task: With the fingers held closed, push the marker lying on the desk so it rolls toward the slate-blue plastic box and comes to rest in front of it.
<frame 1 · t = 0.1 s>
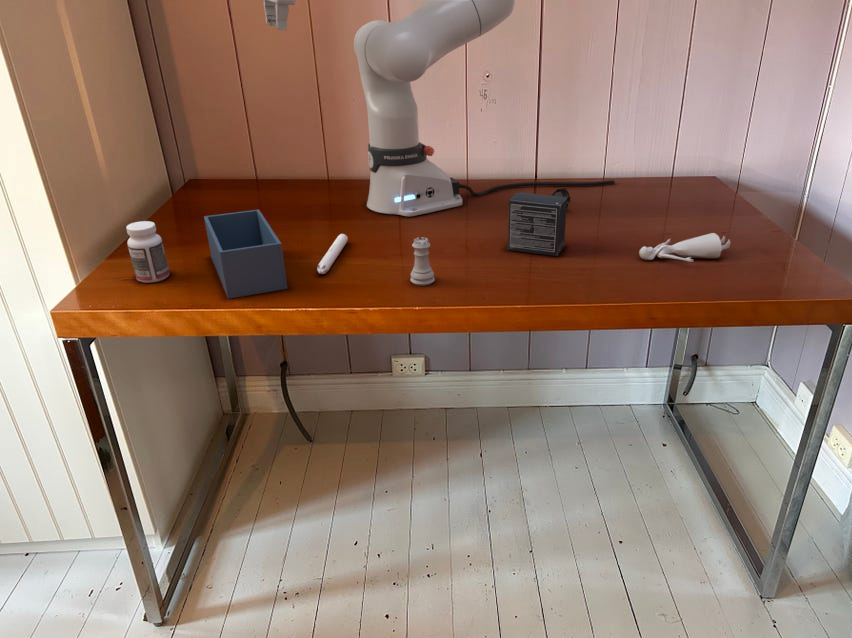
hand: (276, 27, 141), 39 cm above the table, tool pointing down, fingers open, 8 cm apart
pill bottle: (153, 278, 132), on the table
marker: (332, 260, 140), on the table
blue box: (248, 273, 134), on the table
small box: (536, 249, 146), on the table
rook chess piece: (422, 282, 131), on the table
woman figurine: (682, 258, 142), on the table
smartwatch: (559, 211, 167), on the table
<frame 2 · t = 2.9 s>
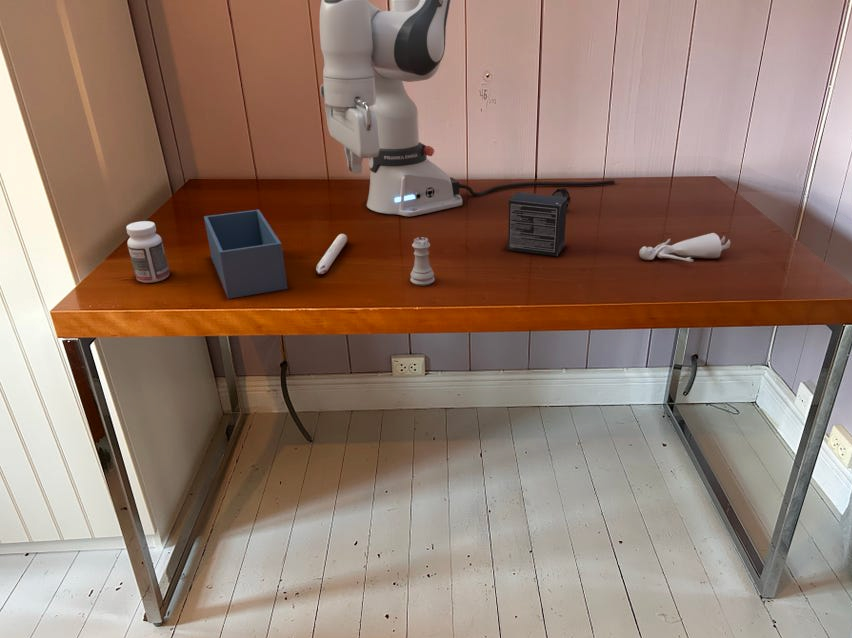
hand: (355, 171, 134), 16 cm above the table, tool pointing down, fingers closed
nothing on the table moved.
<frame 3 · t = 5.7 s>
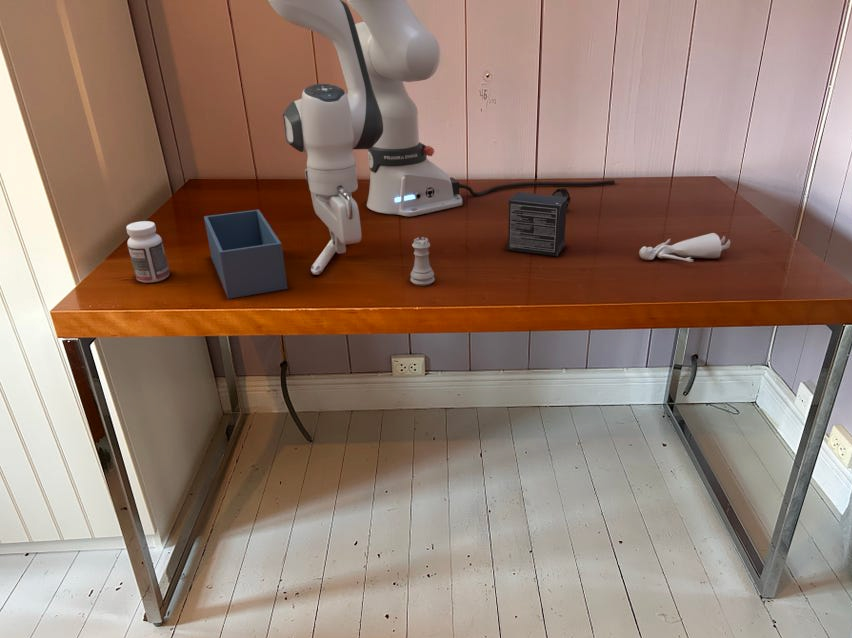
hand: (339, 250, 139), 2 cm above the table, tool pointing down, fingers closed
marker: (326, 261, 140), on the table, touching gripper
everything else where it was.
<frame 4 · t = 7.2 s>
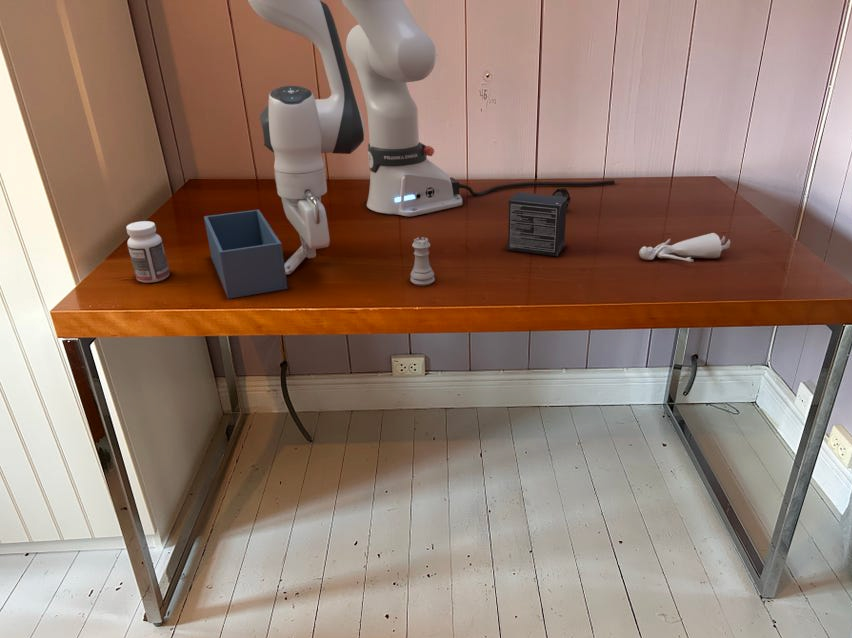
hand: (309, 255, 137), 2 cm above the table, tool pointing down, fingers closed
marker: (300, 261, 140), on the table
everything else where it was.
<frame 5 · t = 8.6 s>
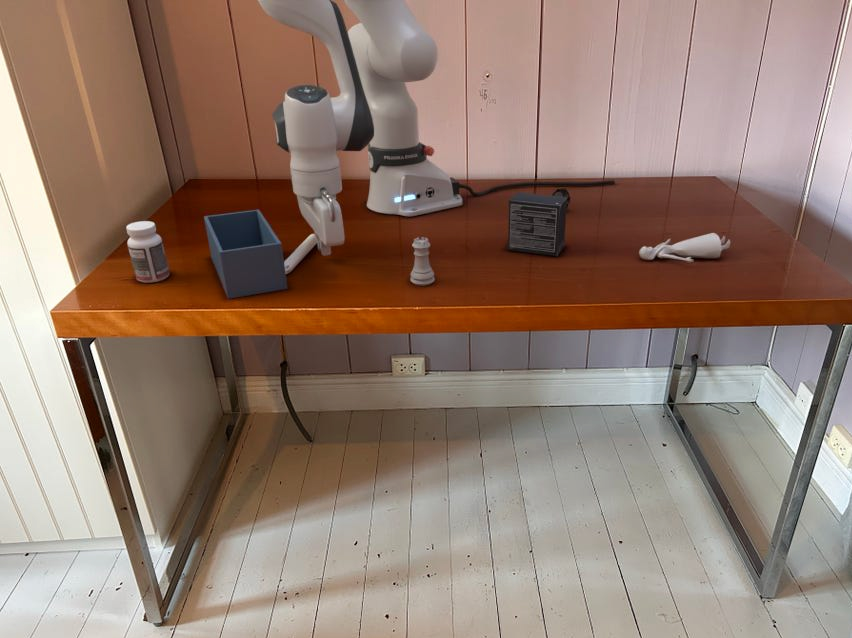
hand: (324, 252, 139), 2 cm above the table, tool pointing down, fingers closed
nothing on the table moved.
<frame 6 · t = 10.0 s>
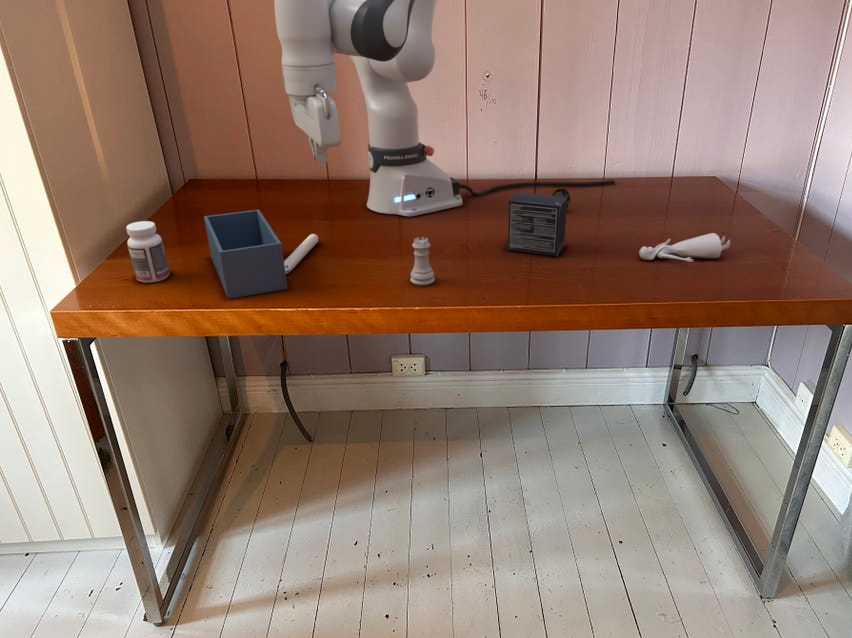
hand: (320, 161, 131), 19 cm above the table, tool pointing down, fingers closed
nothing on the table moved.
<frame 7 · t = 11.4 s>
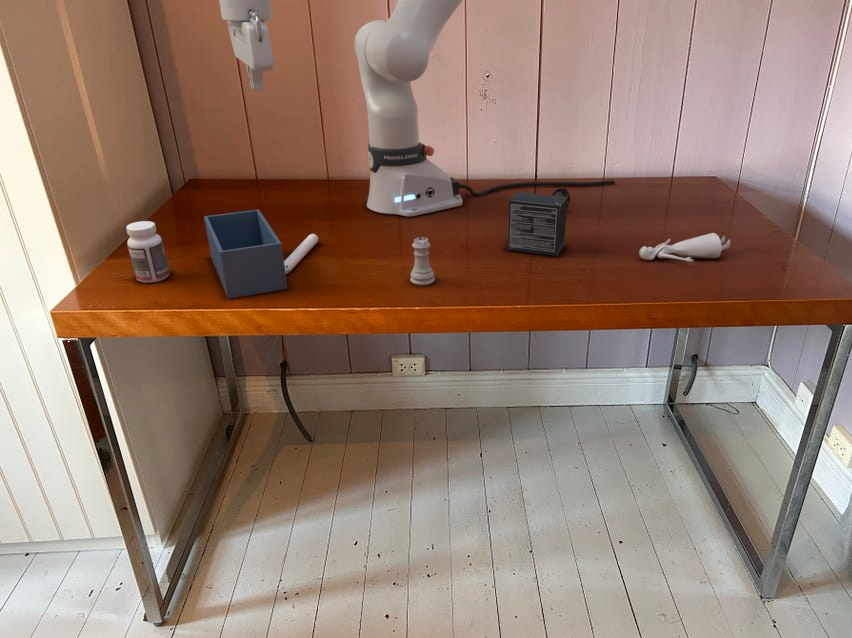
hand: (257, 90, 136), 29 cm above the table, tool pointing down, fingers closed
nothing on the table moved.
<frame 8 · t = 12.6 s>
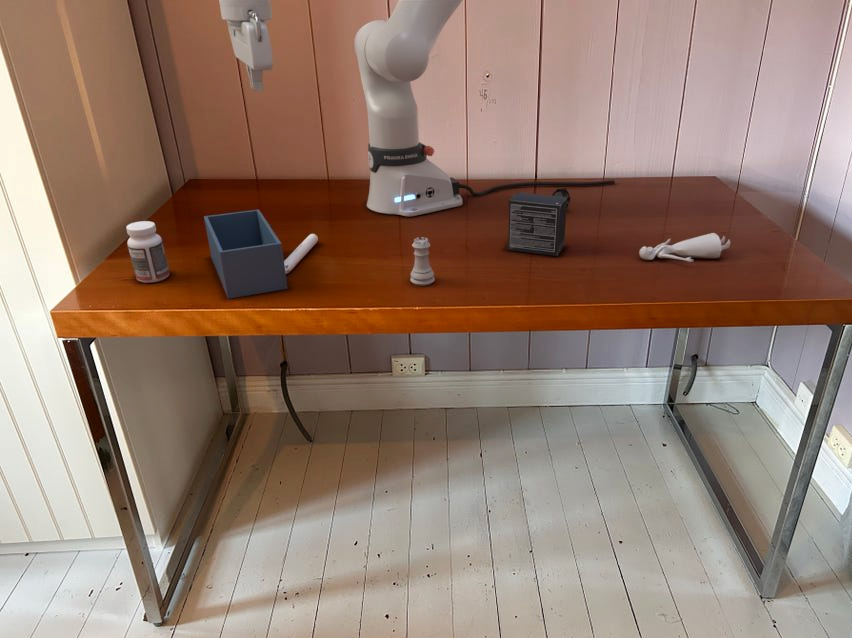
hand: (257, 90, 136), 29 cm above the table, tool pointing down, fingers closed
nothing on the table moved.
at the end: marker inside the target area on the table beside the blue box (3.1 cm from its centre), on the table; marker moved 6.5 cm from its start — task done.
